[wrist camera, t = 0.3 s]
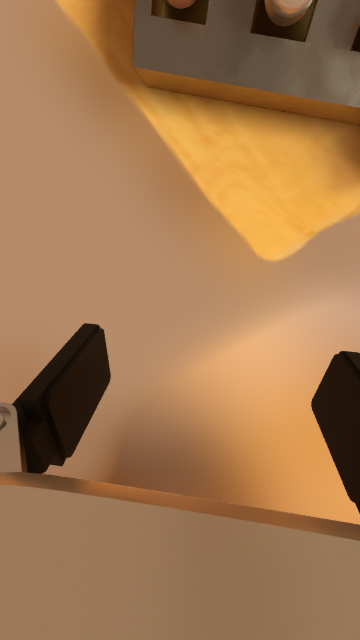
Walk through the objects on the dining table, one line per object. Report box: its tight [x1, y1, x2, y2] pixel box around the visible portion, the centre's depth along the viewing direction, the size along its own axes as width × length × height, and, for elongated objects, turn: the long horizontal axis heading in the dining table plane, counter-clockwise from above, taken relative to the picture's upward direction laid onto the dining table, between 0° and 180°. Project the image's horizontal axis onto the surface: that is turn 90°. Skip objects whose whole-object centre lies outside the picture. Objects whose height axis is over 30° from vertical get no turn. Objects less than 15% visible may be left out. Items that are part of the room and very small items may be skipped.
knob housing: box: [133, 0, 360, 125], centre depth 22 cm, size 12×26×6 cm, turn 81°
